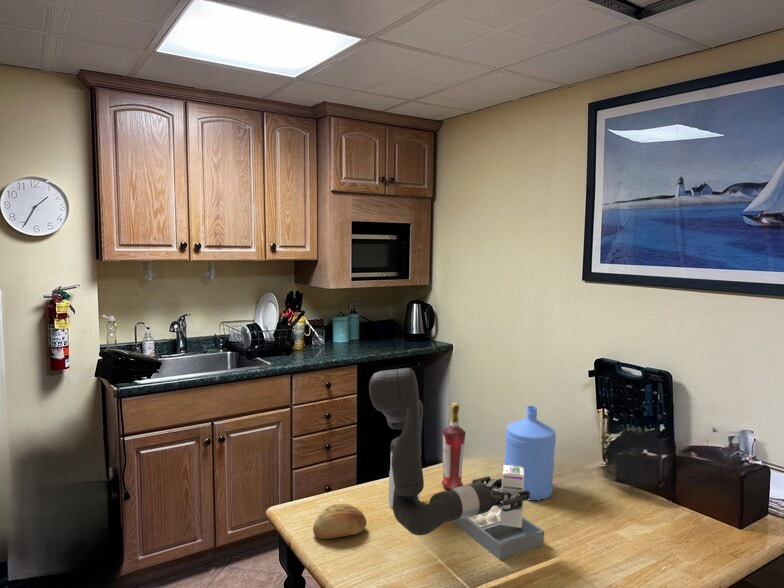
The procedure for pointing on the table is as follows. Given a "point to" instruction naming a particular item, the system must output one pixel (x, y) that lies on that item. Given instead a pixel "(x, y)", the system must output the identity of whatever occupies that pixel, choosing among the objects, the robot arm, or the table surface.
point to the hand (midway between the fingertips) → (518, 487)
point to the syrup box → (514, 484)
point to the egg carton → (487, 517)
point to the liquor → (453, 451)
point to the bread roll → (339, 521)
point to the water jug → (532, 453)
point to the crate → (504, 537)
